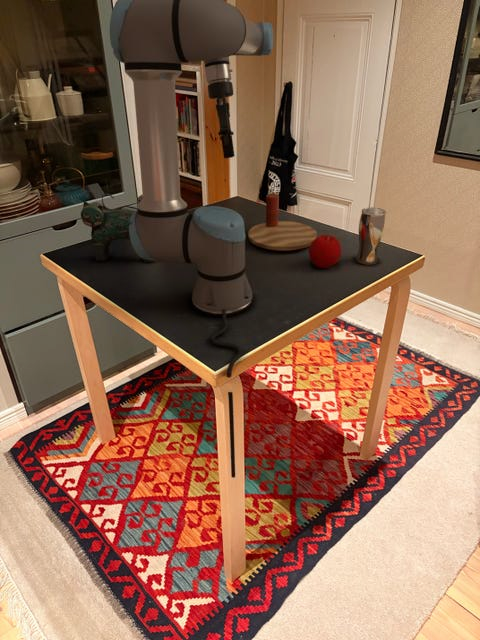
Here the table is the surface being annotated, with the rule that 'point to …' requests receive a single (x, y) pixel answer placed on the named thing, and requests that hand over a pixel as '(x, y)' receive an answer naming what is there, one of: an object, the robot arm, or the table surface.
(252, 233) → the wooden round stand
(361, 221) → the beer glass
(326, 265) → the fruit
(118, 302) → the table surface
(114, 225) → the ceramic cat
